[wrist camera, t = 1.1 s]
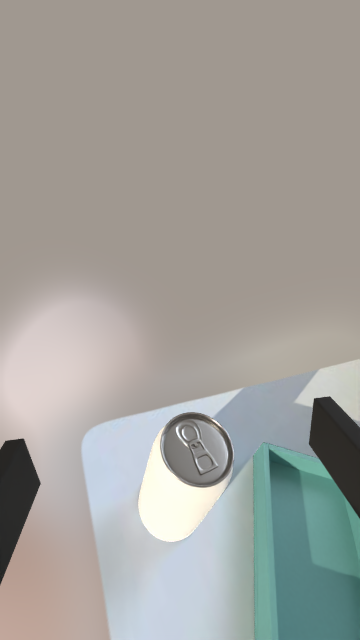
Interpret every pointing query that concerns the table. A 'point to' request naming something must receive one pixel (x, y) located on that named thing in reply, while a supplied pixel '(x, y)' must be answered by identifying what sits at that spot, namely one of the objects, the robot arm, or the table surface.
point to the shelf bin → (303, 550)
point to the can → (185, 475)
